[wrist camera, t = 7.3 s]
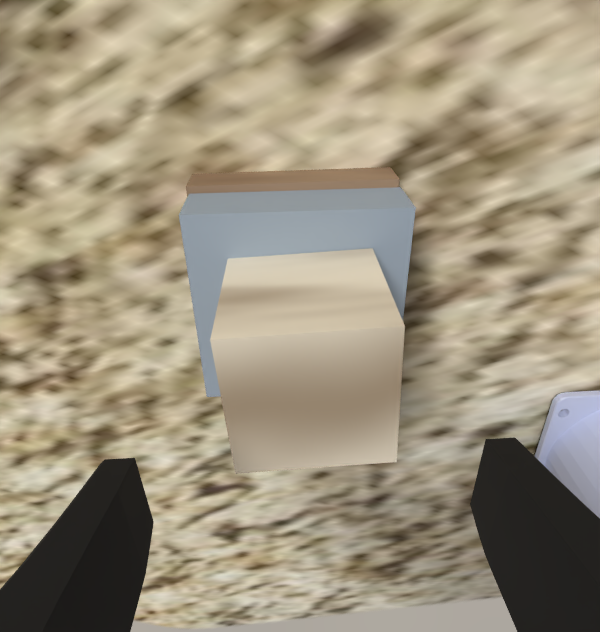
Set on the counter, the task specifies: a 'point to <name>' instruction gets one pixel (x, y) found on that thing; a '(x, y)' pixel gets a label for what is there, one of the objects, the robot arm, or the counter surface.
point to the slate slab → (288, 239)
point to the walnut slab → (293, 180)
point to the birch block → (308, 361)
